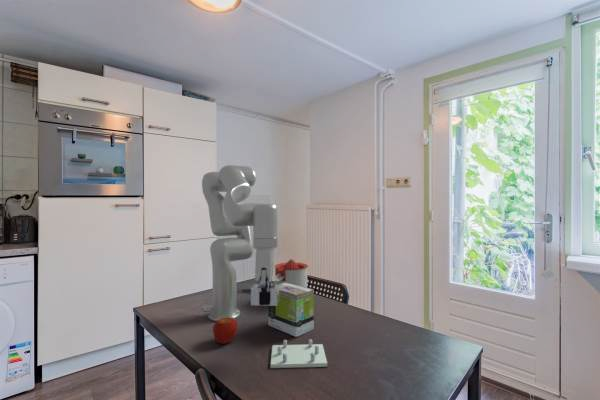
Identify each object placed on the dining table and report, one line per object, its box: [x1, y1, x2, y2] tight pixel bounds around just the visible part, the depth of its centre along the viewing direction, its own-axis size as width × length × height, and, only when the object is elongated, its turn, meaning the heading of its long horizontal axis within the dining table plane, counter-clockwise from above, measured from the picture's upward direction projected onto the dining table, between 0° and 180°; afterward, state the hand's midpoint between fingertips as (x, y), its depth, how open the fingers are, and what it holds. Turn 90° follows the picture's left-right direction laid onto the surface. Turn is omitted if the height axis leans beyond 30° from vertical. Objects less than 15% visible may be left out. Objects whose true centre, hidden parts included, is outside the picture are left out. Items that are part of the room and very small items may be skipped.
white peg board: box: [270, 338, 328, 369], centre depth 87 cm, size 16×11×3 cm
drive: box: [250, 283, 279, 306], centre depth 91 cm, size 8×5×5 cm, turn 86°
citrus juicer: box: [274, 258, 309, 288], centre depth 135 cm, size 16×17×20 cm
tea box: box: [267, 283, 315, 338], centre depth 108 cm, size 15×10×15 cm
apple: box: [212, 317, 239, 345], centre depth 97 cm, size 8×8×8 cm
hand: (265, 300), depth 91 cm, fingers closed on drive, 5 cm apart
